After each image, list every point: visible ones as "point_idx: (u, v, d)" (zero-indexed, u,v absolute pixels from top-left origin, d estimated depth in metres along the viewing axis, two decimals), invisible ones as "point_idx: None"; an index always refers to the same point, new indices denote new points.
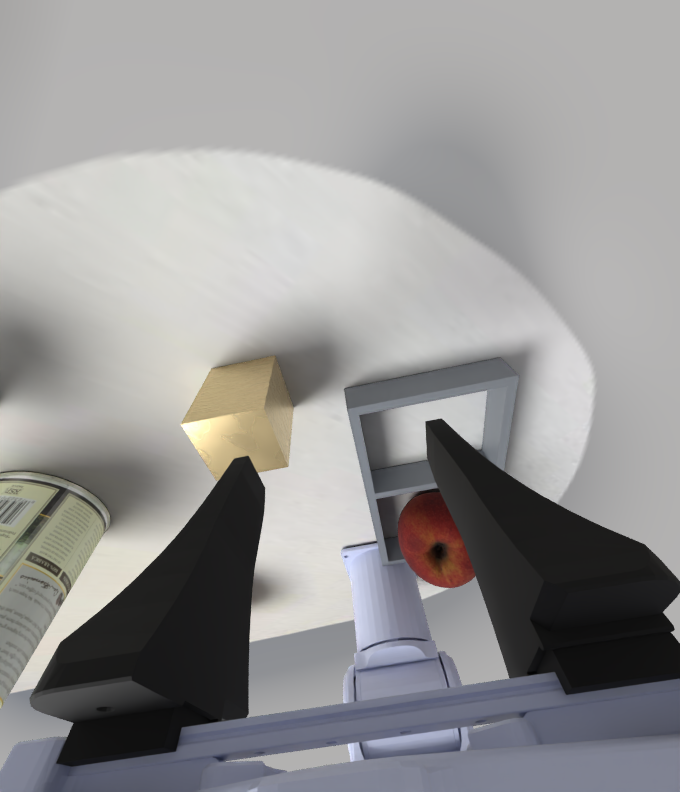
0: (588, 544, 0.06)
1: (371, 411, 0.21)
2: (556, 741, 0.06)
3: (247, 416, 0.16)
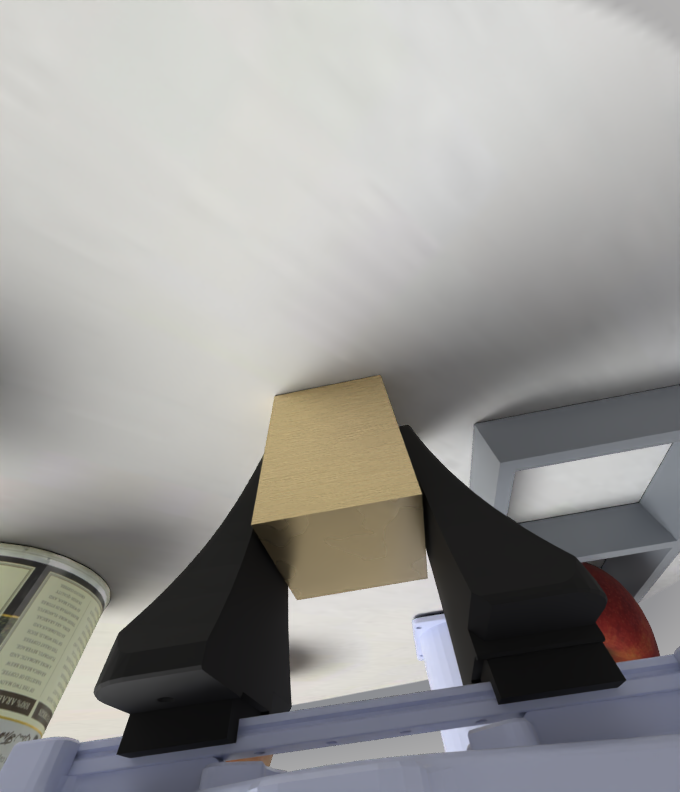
0: (522, 556, 0.06)
1: (536, 465, 0.13)
2: (556, 741, 0.06)
3: (383, 509, 0.08)
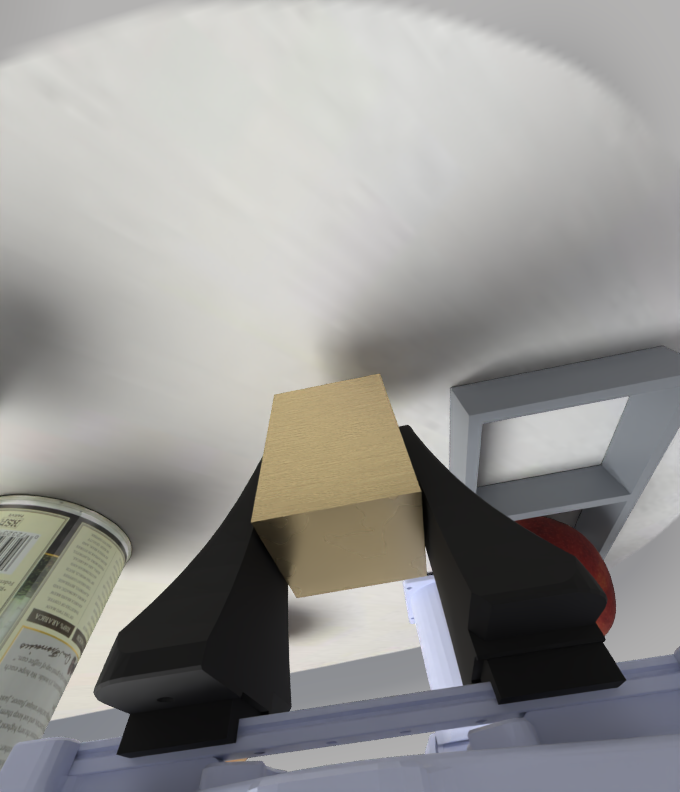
0: (522, 556, 0.06)
1: (500, 418, 0.15)
2: (556, 741, 0.06)
3: (383, 507, 0.08)
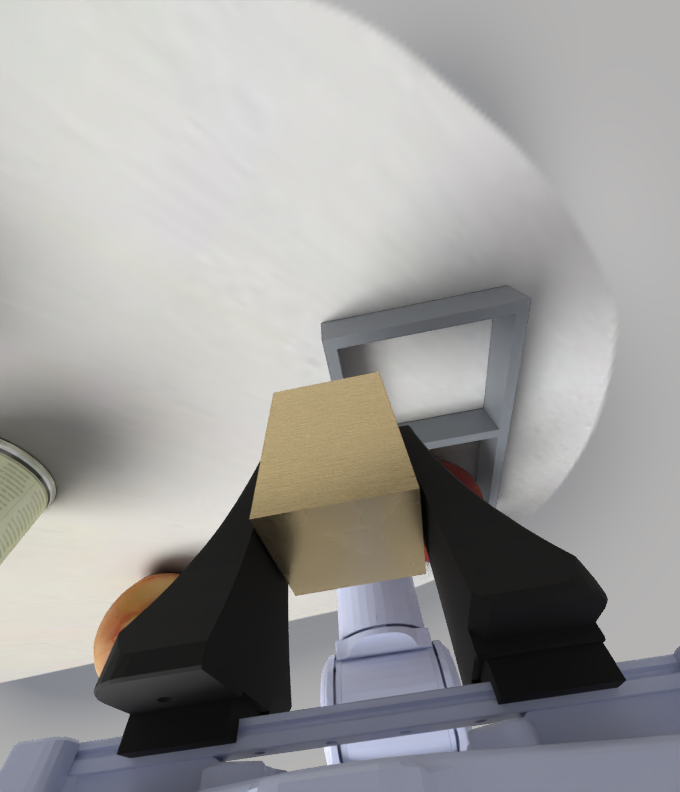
0: (522, 555, 0.06)
1: (351, 344, 0.17)
2: (556, 741, 0.06)
3: (382, 504, 0.08)
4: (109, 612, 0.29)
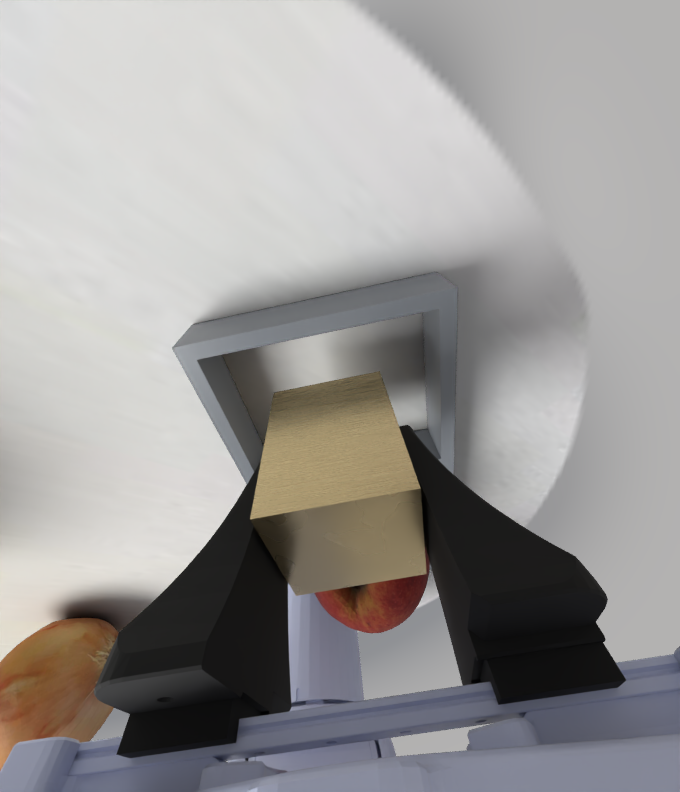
0: (522, 556, 0.06)
1: (216, 353, 0.13)
2: (556, 741, 0.06)
3: (382, 503, 0.08)
4: None
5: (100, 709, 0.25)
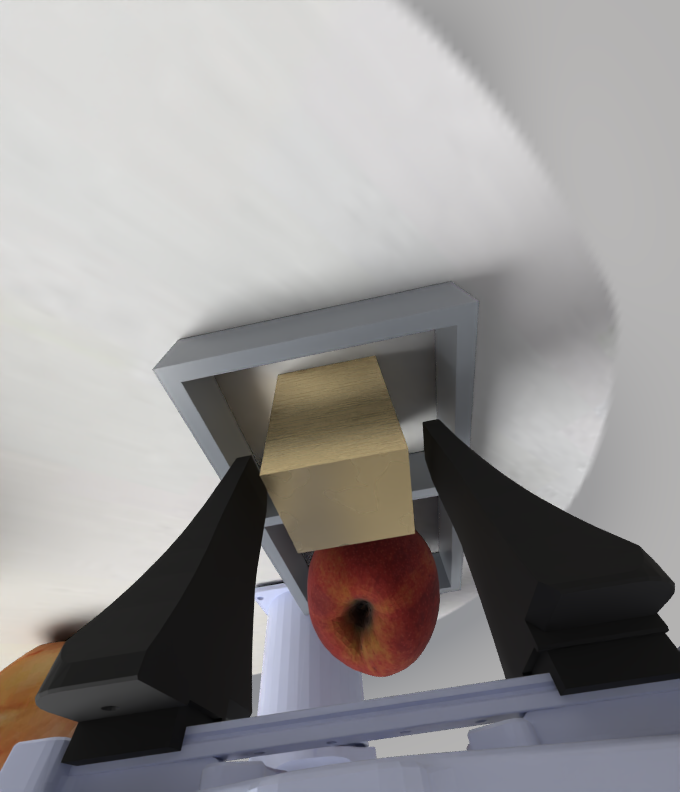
0: (583, 545, 0.06)
1: (203, 374, 0.11)
2: (556, 741, 0.06)
3: (375, 462, 0.09)
4: None
5: None
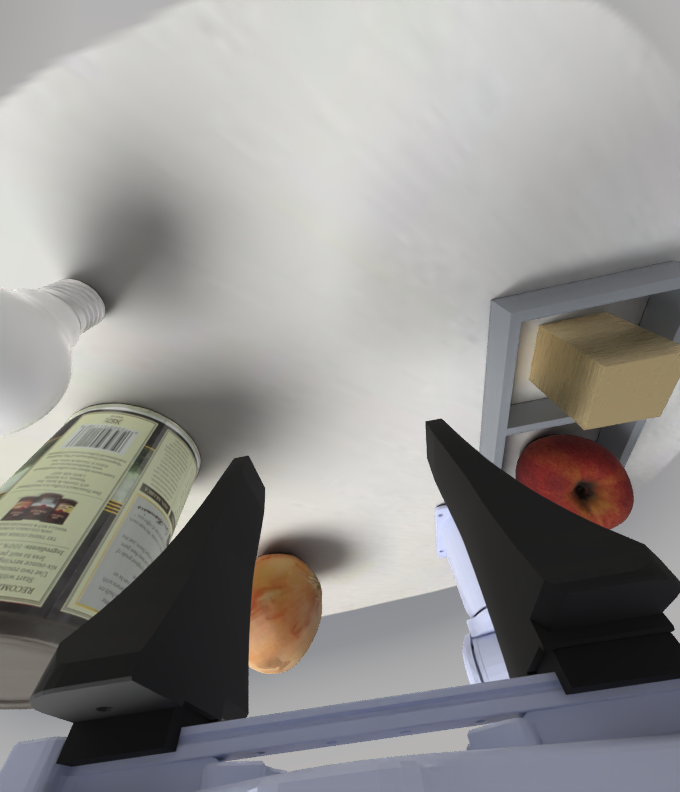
0: (588, 544, 0.06)
1: (536, 317, 0.18)
2: (556, 741, 0.06)
3: (670, 359, 0.17)
4: None
5: (318, 620, 0.30)
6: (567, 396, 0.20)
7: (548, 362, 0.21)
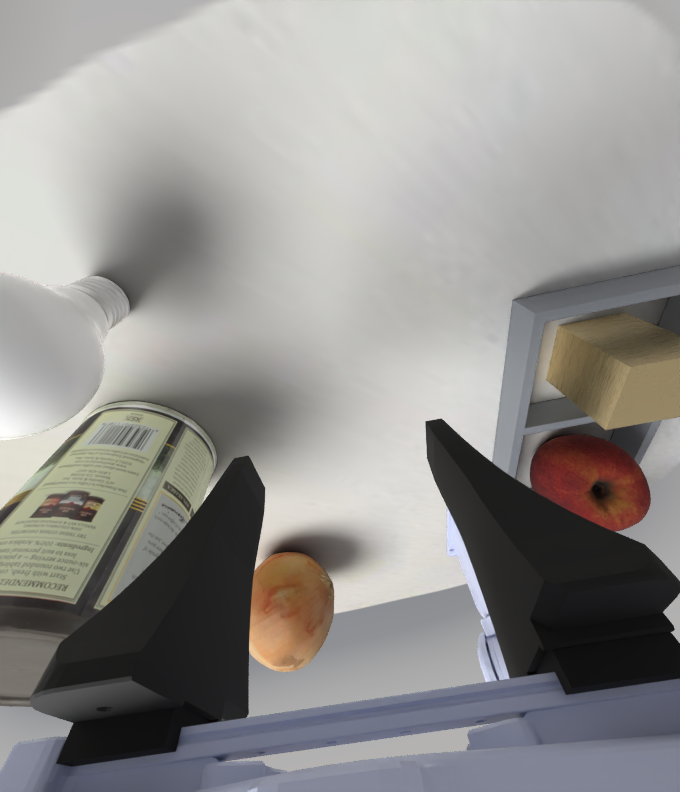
0: (588, 545, 0.06)
1: (560, 317, 0.19)
2: (556, 741, 0.06)
3: None
4: None
5: (331, 618, 0.31)
6: (588, 396, 0.20)
7: (568, 363, 0.21)
